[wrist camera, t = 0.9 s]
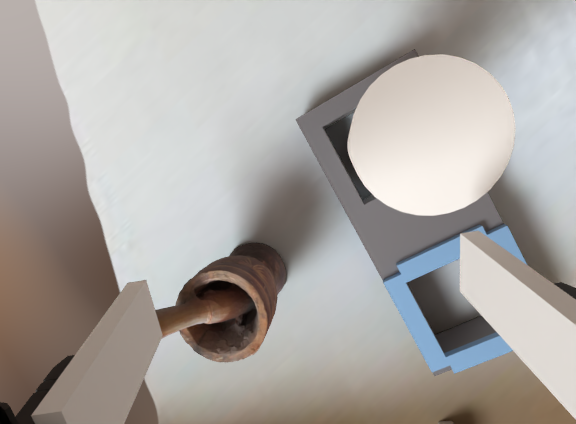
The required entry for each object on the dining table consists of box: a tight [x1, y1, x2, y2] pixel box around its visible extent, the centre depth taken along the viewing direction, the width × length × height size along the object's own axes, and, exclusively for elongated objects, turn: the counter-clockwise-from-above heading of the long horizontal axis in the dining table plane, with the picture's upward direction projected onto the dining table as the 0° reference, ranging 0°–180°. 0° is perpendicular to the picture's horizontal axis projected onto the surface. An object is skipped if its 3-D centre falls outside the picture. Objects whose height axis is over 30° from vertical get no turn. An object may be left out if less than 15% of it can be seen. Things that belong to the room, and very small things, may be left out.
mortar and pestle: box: [155, 243, 286, 362], centre depth 37 cm, size 12×9×20 cm
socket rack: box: [296, 49, 527, 376], centre depth 40 cm, size 31×13×5 cm, turn 29°
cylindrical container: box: [347, 54, 515, 216], centre depth 29 cm, size 7×7×25 cm
